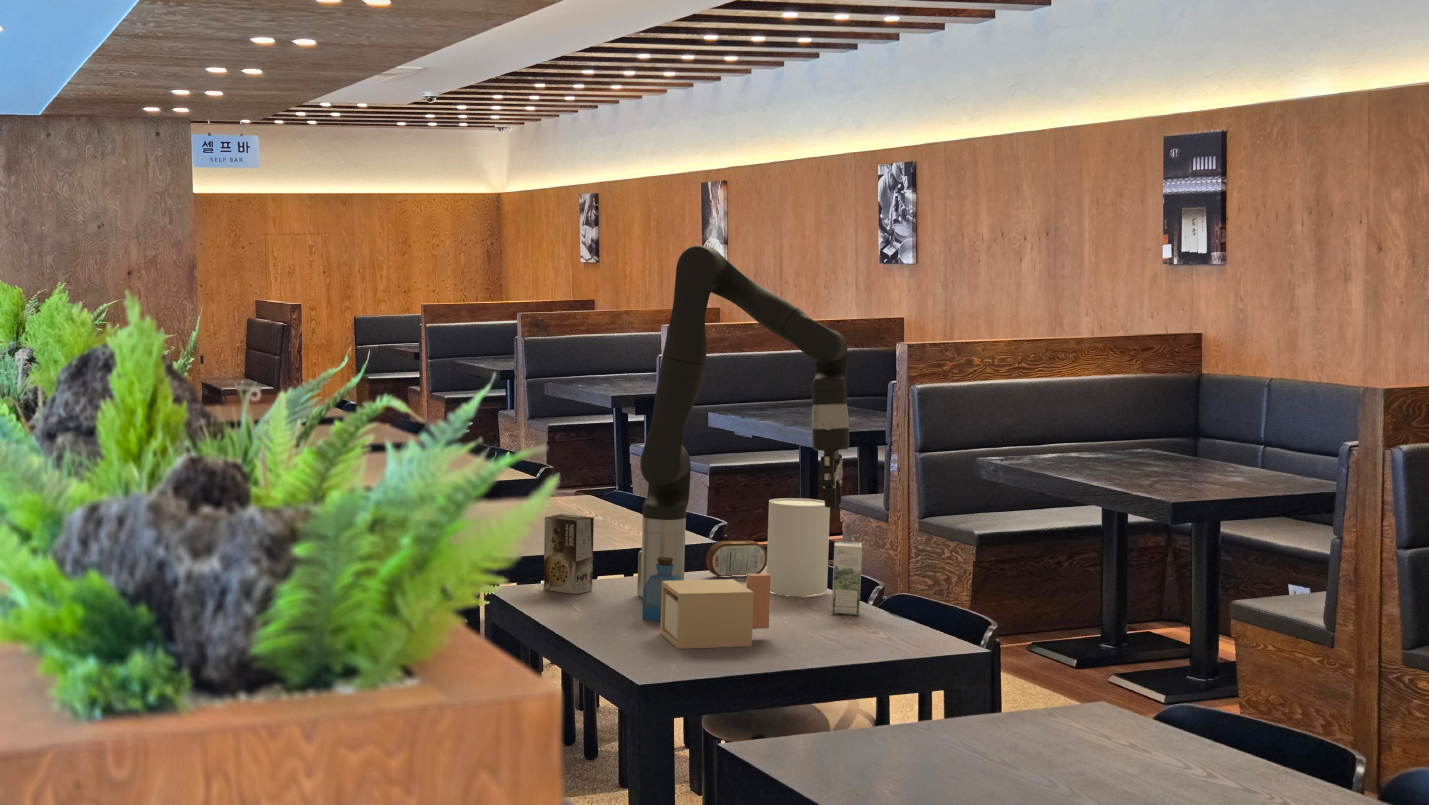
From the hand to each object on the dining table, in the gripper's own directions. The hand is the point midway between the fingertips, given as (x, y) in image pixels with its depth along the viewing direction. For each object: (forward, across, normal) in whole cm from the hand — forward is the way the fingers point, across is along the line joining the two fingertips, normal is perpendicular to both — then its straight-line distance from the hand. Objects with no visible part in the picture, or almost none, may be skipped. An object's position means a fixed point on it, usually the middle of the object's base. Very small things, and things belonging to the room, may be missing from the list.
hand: (833, 505), depth 293 cm
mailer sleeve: (+22, +32, -20) cm, 44 cm away
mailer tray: (+21, +31, -18) cm, 42 cm away
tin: (+19, -36, -28) cm, 50 cm away
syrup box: (+22, -3, +1) cm, 23 cm away
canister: (+21, -23, -12) cm, 33 cm away
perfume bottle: (+21, +16, -32) cm, 42 cm away
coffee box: (+18, -5, -59) cm, 62 cm away
